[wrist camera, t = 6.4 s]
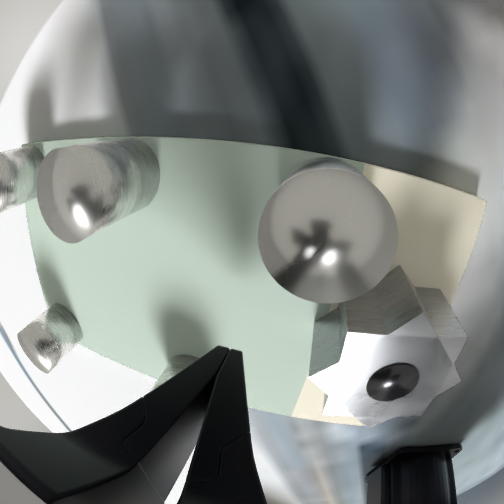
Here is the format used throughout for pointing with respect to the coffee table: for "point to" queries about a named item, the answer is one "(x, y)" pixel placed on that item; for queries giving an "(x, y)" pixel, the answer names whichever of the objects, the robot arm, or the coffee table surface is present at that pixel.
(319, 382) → the gear
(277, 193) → the spacer field
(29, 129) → the coffee table surface
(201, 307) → the mat
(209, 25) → the coffee table surface
